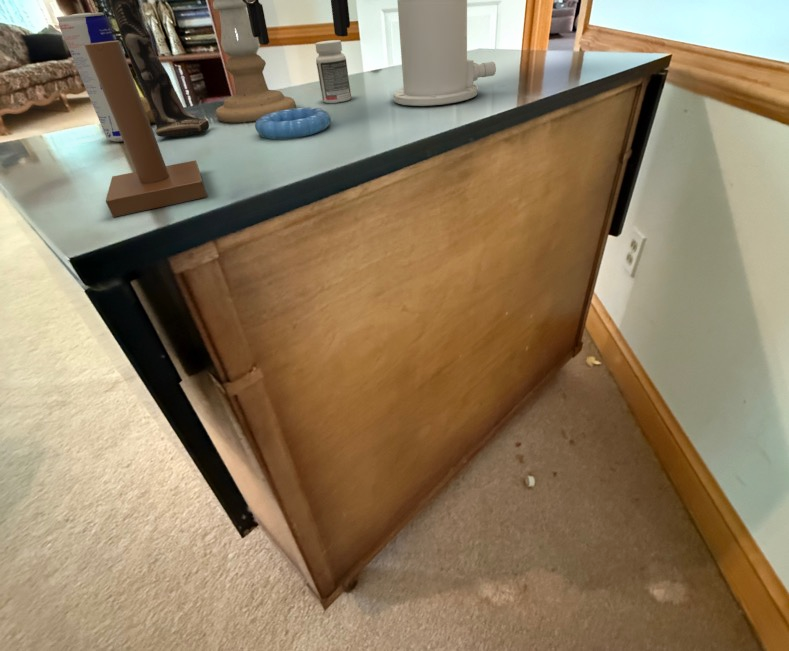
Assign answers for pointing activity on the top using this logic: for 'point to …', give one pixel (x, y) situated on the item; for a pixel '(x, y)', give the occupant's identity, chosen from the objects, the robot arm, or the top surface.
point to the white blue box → (76, 36)
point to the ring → (292, 123)
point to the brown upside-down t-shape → (139, 142)
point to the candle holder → (245, 68)
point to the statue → (153, 75)
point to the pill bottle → (332, 72)
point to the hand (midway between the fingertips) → (303, 39)
